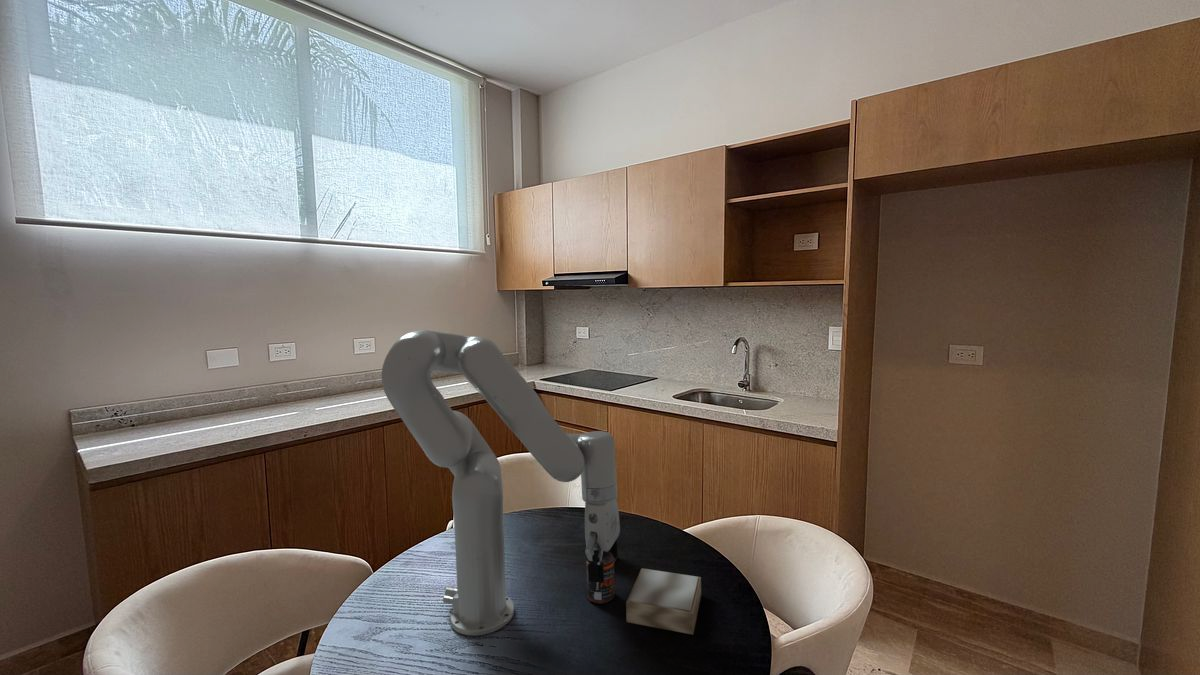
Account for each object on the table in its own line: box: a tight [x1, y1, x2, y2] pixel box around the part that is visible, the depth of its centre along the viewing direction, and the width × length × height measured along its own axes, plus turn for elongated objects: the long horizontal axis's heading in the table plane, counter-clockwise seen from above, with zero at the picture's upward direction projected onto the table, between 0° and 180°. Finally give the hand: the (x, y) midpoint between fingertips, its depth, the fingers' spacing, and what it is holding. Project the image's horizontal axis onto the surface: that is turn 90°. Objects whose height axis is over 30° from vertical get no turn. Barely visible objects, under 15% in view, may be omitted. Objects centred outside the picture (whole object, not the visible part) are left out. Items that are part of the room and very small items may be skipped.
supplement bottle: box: [586, 545, 615, 605], centre depth 102 cm, size 6×6×11 cm
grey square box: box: [625, 567, 702, 635], centre depth 98 cm, size 13×13×4 cm
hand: (603, 568), depth 102 cm, fingers open, 9 cm apart
